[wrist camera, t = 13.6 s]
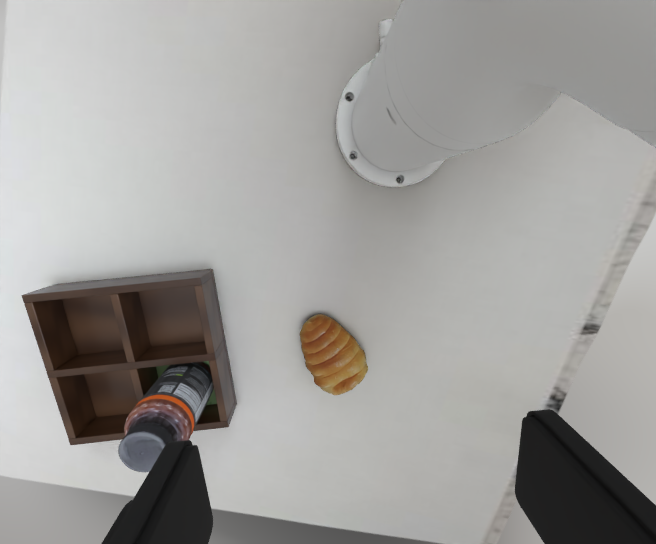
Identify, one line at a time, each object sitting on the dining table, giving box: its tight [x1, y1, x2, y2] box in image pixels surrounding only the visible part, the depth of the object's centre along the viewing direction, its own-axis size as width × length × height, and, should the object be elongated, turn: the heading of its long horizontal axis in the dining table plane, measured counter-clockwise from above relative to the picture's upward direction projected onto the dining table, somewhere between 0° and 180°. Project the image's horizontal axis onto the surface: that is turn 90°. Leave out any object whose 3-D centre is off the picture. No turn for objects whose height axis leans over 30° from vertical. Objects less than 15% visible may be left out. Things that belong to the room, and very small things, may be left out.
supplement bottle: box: [119, 362, 214, 472], centre depth 32 cm, size 6×6×11 cm
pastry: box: [300, 314, 368, 395], centre depth 36 cm, size 9×7×4 cm
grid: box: [22, 269, 237, 445], centre depth 35 cm, size 17×17×4 cm
